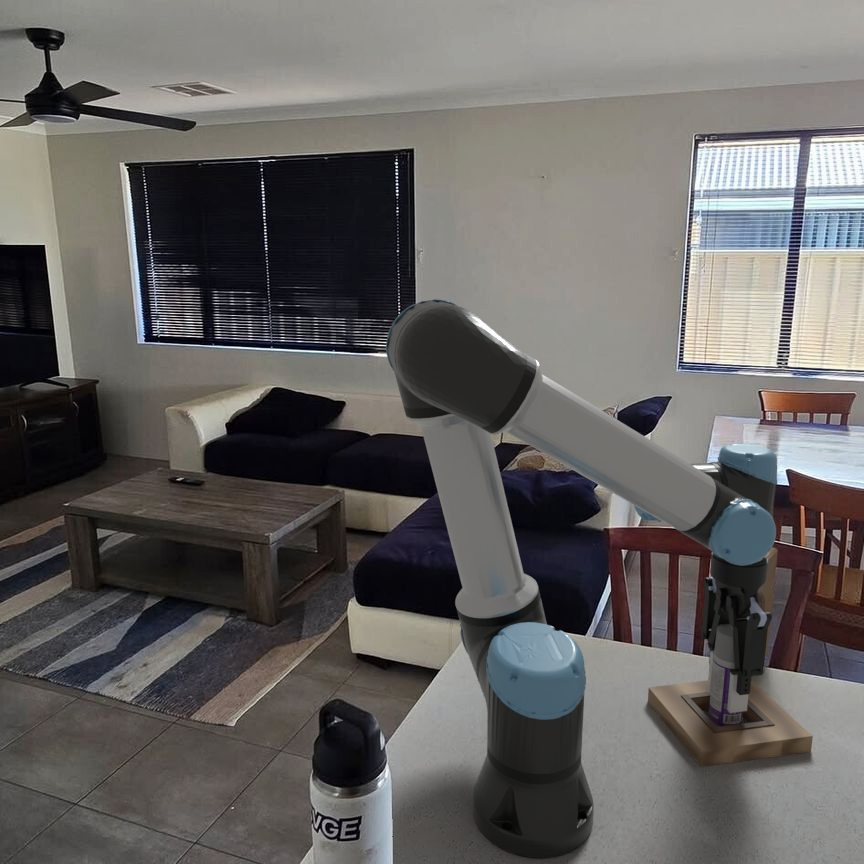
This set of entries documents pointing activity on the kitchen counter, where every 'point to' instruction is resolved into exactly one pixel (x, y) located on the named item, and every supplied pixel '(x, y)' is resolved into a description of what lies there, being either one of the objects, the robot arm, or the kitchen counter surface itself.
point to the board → (733, 743)
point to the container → (722, 678)
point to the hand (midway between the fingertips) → (726, 699)
